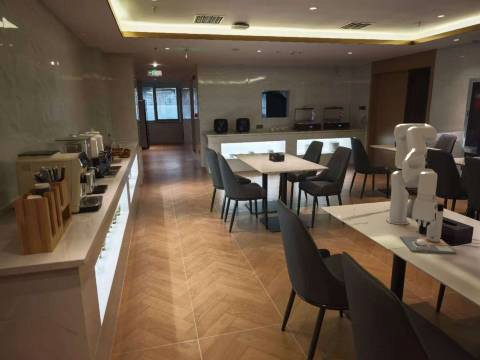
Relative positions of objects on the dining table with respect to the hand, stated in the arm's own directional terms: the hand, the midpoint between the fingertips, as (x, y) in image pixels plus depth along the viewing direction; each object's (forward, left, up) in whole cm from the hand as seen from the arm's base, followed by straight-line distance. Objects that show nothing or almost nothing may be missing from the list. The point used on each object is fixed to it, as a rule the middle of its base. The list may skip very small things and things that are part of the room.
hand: (422, 233), depth 164 cm
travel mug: (-9, +9, -7) cm, 15 cm away
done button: (0, 0, -6) cm, 6 cm away
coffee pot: (-60, +15, -8) cm, 63 cm away
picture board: (-5, +5, -8) cm, 11 cm away
